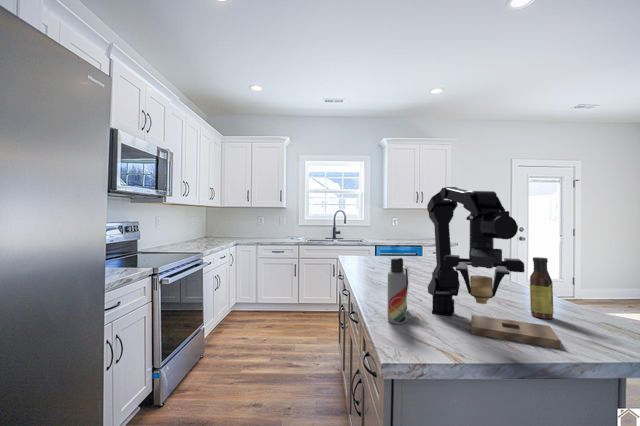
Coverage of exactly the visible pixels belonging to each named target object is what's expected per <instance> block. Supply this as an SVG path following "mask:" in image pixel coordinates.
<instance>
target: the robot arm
mask: <svg viewBox="0 0 640 426" xmlns="http://www.w3.org/2000/svg"><path fill="white" fill-rule="evenodd" d="M497 194H498V193H496V191H493V190H466V189H462V188H459V187H456V186H444V187H442V188H440V191H438V193H435V194H434V195H432V196H431V198H430V199H429V201H428V203H427V206H426V209H427V210H426V211H427V212H428V217H429V219H430V221H431V222H432V224H433V225H434V226H433V227H434V240H435V241H434V242H435V243H434V244H435V260H436V265H435V268H434V269H433V270H432V273H431V278H430V279H431V280H430V281H429V283H428V285H427V293H428V294H430V295H431V296H432V309H431V314H436V315H443V316H449V317H450V316H451V317H452V316H453V314H454V313H455V299H454V298H453V297H458V295H459V290H460V286H461V285H460V284H461V283H460V280H459V279H460V278H459V273H460V275H461V276H462V278H463V280H464V284H465V286H466V289H467V293H468V294H469V295H470V293H471V279H470V274H469V267H468V266H470V267H473V268H486V269H490V270H491V269H493V268H494V274H493V281H492V294H493V298H494V297H495V296H496V293H497V291H498V288H499V286H500V284H501V282H502V280H503V278H504V277H505V275H507V276H508V275H510V273H525V263H524V262H523V261H522V260H521V259H520V258H509V257H506V258H503V250H502V249H501V248H494V239H498V240H499V239H500V240H511V239H512V238H515V236H516V235H517V233H518V229H519V225H518V223H517V222H516V221H517V220H515V218H513V217H512V216H511V215H510V211H508V210H506V209H505V208H504V206H503V204H502V202H501V200H500V198H499V197H498V196H497ZM458 204H461V205H463V206H462V207H463V208H464V209H465V210H466V211H467V212H469V213H470V214H469V215H468V216H466V221H469V251H468V254H469V255H468V258H466V257H465V258H464V257H460V255H459V254H458V255H457V254H452V250H451V248H452V247H451V235H450V234H451V233H450V223H451V220H452V219H453V217H454V212H455V210H456V209H457V208H458Z"/></svg>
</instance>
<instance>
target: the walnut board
mask: <svg viewBox="0 0 640 426" xmlns="http://www.w3.org/2000/svg"><path fill="white" fill-rule="evenodd" d="M470 317H471V324H470V325H471V326H470V327H471V330H470V331H471V332H470V333H471V334H473V335H478V336H482V337H488V338H489V337H490V338H494V339H495V338H496V339H502V340H508V341H513V342H520V343H527V344H532V345H538V346H544V347H549V348H550V347H551V348H554V349H555V348H556V349H561V347H562V346H561V343H562V342H561V341H562V340H561V339H560V337H559V336H558V335H557V334H556V332H555V331H554V330H553V328H552V327H551V326H550V325H546V324H540V323H534V322H533V323H532V322H527V321H518V320H511V319H506V318H505V319H504V318H499V317H498V318H497V317H491V316H482V315H475V314H471V316H470Z"/></svg>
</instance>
